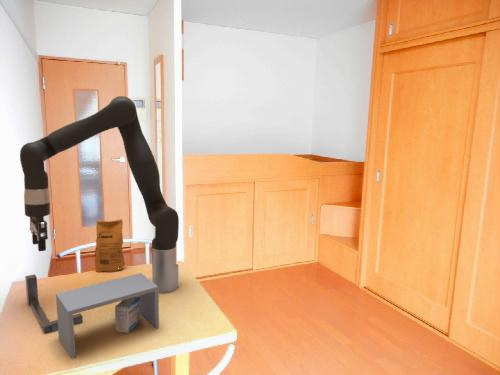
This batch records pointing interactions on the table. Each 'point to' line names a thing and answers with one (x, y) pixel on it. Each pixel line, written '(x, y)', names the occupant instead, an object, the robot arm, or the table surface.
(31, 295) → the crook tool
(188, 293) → the table surface
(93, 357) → the table surface
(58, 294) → the cubby
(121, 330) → the medicine box
